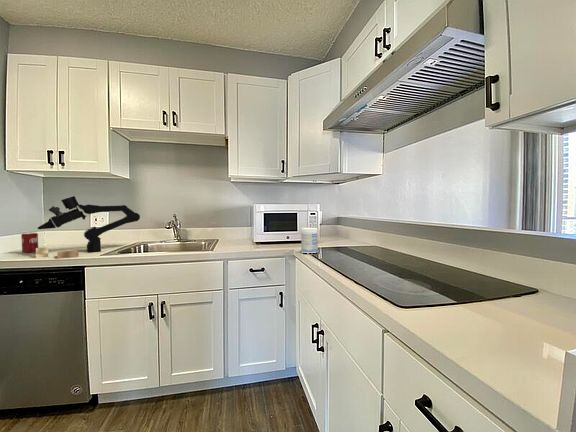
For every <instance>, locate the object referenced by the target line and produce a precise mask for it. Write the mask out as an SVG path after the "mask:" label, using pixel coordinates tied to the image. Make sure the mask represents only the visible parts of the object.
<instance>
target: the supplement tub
mask: <svg viewBox="0 0 576 432" xmlns="http://www.w3.org/2000/svg"><path fill="white" fill-rule="evenodd" d="M318 231H319V230H318V227H317V228H316V227H302V228H301V237H300V238H301V239H300V240H301V241H300V243H301V246H300V247H301V249H300V250H301V254H303V253H316V252H317V253H318V248H319V246H318V242H319V239H318V238H319V237H318V236H319V235H318V234H319V232H318Z"/></svg>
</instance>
